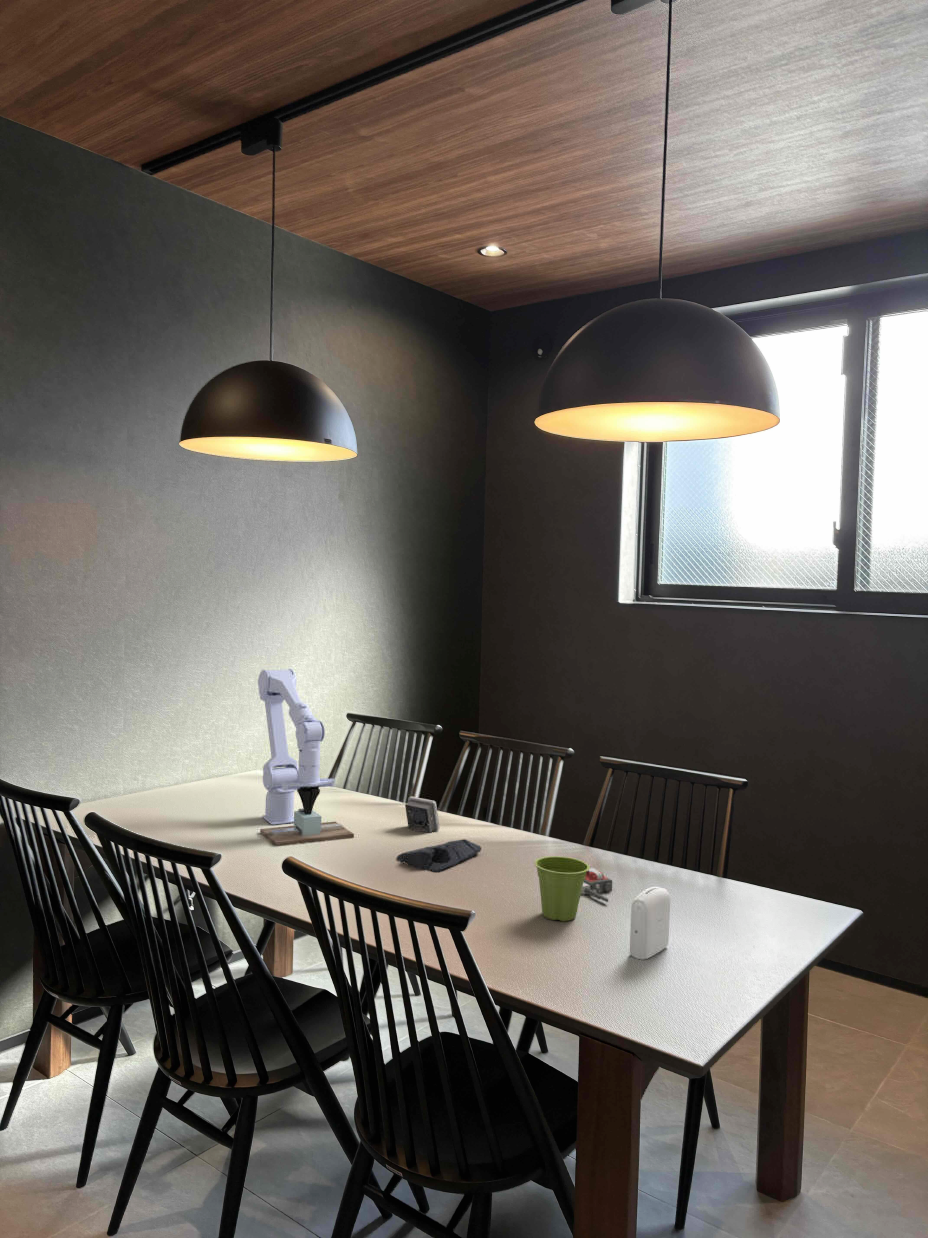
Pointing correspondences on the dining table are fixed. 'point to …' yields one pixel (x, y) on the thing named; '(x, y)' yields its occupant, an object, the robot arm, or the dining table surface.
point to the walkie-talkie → (596, 884)
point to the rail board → (294, 836)
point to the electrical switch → (422, 814)
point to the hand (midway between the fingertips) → (307, 814)
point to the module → (307, 822)
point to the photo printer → (649, 923)
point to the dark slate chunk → (440, 855)
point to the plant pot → (560, 885)
